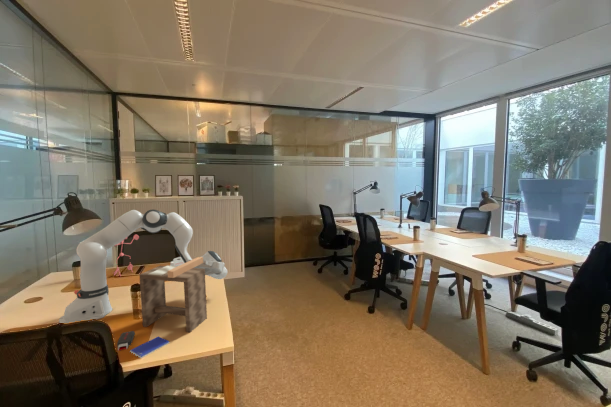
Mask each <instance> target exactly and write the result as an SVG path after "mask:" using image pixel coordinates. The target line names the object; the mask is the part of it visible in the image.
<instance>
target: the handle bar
mask: <svg viewBox="0 0 611 407" xmlns="http://www.w3.org/2000/svg"><path fill="white" fill-rule="evenodd" d="M202 263H203V257H202V256H197V257H195V258H192V260H191V261H188V262H186V263H184V264H182V265H180V266H178V267H175V268H173V269H171V270H169V271H168V278H174V277H176V276H178V275H180V274H182V273H184V272H186V271H188V270H190V269H192V268H194V267H196V266H198V265H200V264H202Z"/></svg>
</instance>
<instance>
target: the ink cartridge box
mask: <svg viewBox="0 0 611 407" xmlns="http://www.w3.org/2000/svg"><path fill="white" fill-rule="evenodd" d="M182 264H184V261H183V260H182V258H181V256H178V257H175V258H173V259H172V261H170V265H169V266H180V265H182Z"/></svg>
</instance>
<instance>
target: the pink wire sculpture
mask: <svg viewBox="0 0 611 407" xmlns="http://www.w3.org/2000/svg"><path fill="white" fill-rule="evenodd" d="M139 239H140V236H139V235H138V234H134V235H133V238H132V240H131V241H130V242H125V240H128V237H126V238H125V239H124V240H123V241H121V242H120V243H119V244H116V245H114V247H116V246H120V245H121V248H120V252H119V256H118V257H117V259H116V260H115V262H116V263H118V260H119V258H120V257H123V256H126V257H129V258H131V256H130V255H127V254H124V252H123V244H126V245H131V244H132V243H133V241H134V240H136V241H138V240H139ZM133 267H134V265H133V264H132V263H129V265H127V268H126V269H127V270H128V271H130V270H131V271H130V272H132V273H134V271H133ZM116 274H118V275H119V277H122V275H121V272H120V267H118V266H116V269H115V271H113V276H115V275H116Z"/></svg>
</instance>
